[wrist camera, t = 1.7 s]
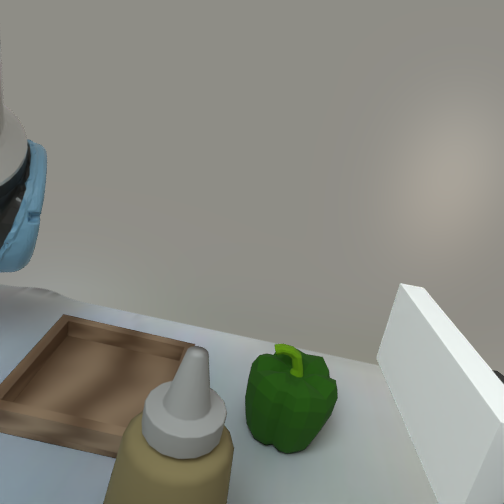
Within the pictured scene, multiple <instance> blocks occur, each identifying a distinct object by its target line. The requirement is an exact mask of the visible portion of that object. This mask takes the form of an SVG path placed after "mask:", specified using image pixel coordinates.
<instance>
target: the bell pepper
mask: <svg viewBox="0 0 504 504" xmlns="http://www.w3.org/2000/svg"><path fill="white" fill-rule="evenodd" d="M275 351H276V352H275V354H274V355H271V354H263V355H259V356H258V358H257V359H256V360H255V361H254V362H253V363H252V366H251V371H250V375H249V379H248V384H247V390H246V396H245V404H246V420H247V425H248V427H249V429H250V431H251V433H252V435H253V437H254V438H255V439H256V440H258V441H260V442H261V443H263V444H265V445H267V444H273V445H274V446H275V447H276V448H277V449H278V450H279V451H282V452H284V453H292V452H298V451H301V450H304V449H305V448H306V447H307V446H308V445H309V444H310V443H311V441H312V440H313V439H314V438H315V436H316V435H317V434H318V432H319V431H320V430H321V428H322V427H323V426H324V424H325V423H326V421H327V420H328V418H329V417H330V415H331V414H332V411H333V408H334V406H335V403H336V401H337V398H338V397H337V385H336V380H334V379H331V378H330V376H329V370H328V367H327V365H326V363H325V361H324V359H323V357H320V356H314V355H308V354H305V353H303V352H301V351H299V350H298V349H296V348H295V347H293V346H289V345H286V344H275Z"/></svg>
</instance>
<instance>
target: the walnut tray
mask: <svg viewBox="0 0 504 504" xmlns="http://www.w3.org/2000/svg"><path fill="white" fill-rule="evenodd" d="M192 346H195V344H192V343H187V342H183V341H179V340H174V339H170V338H165V337H161V336H157V335H152V334H148V333H143V332H139V331H135V330H130V329H126V328H121V327H117V326H113V325H108V324H104V323H99V322H95V321H91V320H86V319H82V318H78V317H73V316H69V315H64V314H63V316H62V317H61V318H60V319H59V320H58V321H57V322H56V323H55V324H54V325H53V327H52V328H51V329H50V330H49V331H48V332H47V333H46V334H45V335H44V337H43V338H42V339H41V340H40V341H39V342H38V343H37V344H36V345H35V347H34V348H33V349H32V350H31V351H30V352H29V353H28V354H27V355H26V356H25V358H24V359H23V360H22V361H21V362H20V363H19V364H18V365H17V366H16V368H15V369H14V370H13V371H12V372H11V373H10V374H9V375H8V376H7V377H6V379H5V380H4V381H3V382H2V383H1V384H0V432H1V433H5V434H10V435H14V436H19V437H23V438H28V439H32V440H37V441H41V442H46V443H50V444H55V445H59V446H64V447H68V448H73V449H77V450H81V451H86V452H90V453H95V454H99V455H104V456H108V457H113V458H116V457H117V453H118V450H119V446H120V443H121V439H122V436H123V433H124V431H125V430H126V428H127V426H128V424H129V423H130V421H131V419H132V418H134V417H135V416H136V415H138V414H139V413H141V412H142V411H143V409H144V403H145V400H146V398H147V397H148V395H149V393H150V391H152V390H153V389H155V388H156V387H157V386H159V385H160V384H162V383H166V382H170V381H173V379H174V377H175V375H176V373H177V371H178V369H179V366H180V364H181V362H182V360H183V358H184V356H185V354H186V352H187V350H188V348H190V347H192Z"/></svg>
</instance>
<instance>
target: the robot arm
mask: <svg viewBox="0 0 504 504" xmlns="http://www.w3.org/2000/svg"><path fill="white" fill-rule="evenodd" d="M1 64H2V62H1V43H0V272H15V271H18V270H20V269H22V268H24V267H25V266H26V265H27V264H28V262H29V261H30V259H31V257H32V255H33V251H34V248H35V244H36V240H37V236H38V231H39V225H40V214H41V210H42V205H43V201H44V193H45V183H46V173H47V154H46V150H45V149H44V147H43V146H42V145H40V144H37V143H34V142H33V141H31V140H28V139H27V137H26V134H25V130H24V127H23V125H22V123H21V122H20V120H19V119H18V117H17V116H16V115H15V114H14V113H13V112H12V111H11V110H10V109H9V108H8V107H7V106H5V105H4V102H3V84H2V65H1ZM376 358H377V361H378V363H379V365H380V368H381V370H382V373H383V375H384V377H385V380H386V382H387V384H388V387H389V389H390V391H391V394H392V396H393V398H394V401H395V403H396V405H397V408H398V410H399V412H400V415H401V417H402V419H403V422H404V424H405V426H406V429H407V431H408V433H409V436H410V438H411V440H412V443H413V445H414V447H415V450H416V452H417V454H418V457H419V459H420V461H421V464H422V466H423V468H424V471H425V473H426V475H427V478H428V480H429V483H430V485H431V487H432V490H433V492H434V494H435V497H436V499H437V501H438V504H504V376H503V375H502V374H501V373H499V372H498V371H493V370H491V368H490V367H489V366H488V365H487V364H486V362H485V361H484V360H483V359H482V358H481V357H480V355H479V354H478V353H477V352H476V351H475V349H474V348H473V347H472V346H471V345H470V343H469V342H468V341H467V340H466V338H465V337H464V336H463V335H462V334H461V332H460V331H459V330H458V329H457V327H455V325H454V324H453V323H452V322H451V320H450V319H449V318H448V317H447V315H446V314H445V313H444V312H443V311H442V309H441V308H440V307H439V306H438V305H437V304H436V302H435V301H434V300H433V299H432V297H431V296H430V295H429V294H428V293H427V291H426V290H425V289H424V288H422V287H417V286H412V285H407V284H401V283H400V285H399V288H398V291H397V295H396V298H395V301H394V304H393V307H392V310H391V313H390V317H389V320H388V323H387V326H386V329H385V332H384V335H383V339H382V342H381V345H380V348H379V351H378V354H377V357H376Z"/></svg>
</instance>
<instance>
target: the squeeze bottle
mask: <svg viewBox="0 0 504 504" xmlns="http://www.w3.org/2000/svg"><path fill="white" fill-rule="evenodd" d="M226 415H227V411H226V407H225V403H224V401H223V400H222V399H221V397H220V396H219V395H218V394H217V393H216V391H214V390H212V389H211V388H210V379H209V354H208V351H207V350H206V349H204V348H203V347H199V346H192V347H190V348H188V350H187V352H186V354H185V356H184V358H183V360H182V362H181V364H180V366H179V369H178V371H177V373H176V375H175V377H174V379H173V381H170V382H166V383H162V384H160V385H159V386H157V387H156V388H155V389H153V390H152V391H150V393H149V395H148V397H147V398H146V400H145V403H144V409H143V411H142V412H141V413H139V414H138V415H136V416H135V417H134V418H132V419H131V421H130V423H129V424H128V426H127V428H126V430H125V431H124V433H123V436H122V439H121V443H120V446H119V450H118V453H117V457H116V461H115V464H114V468H113V471H112V475H111V478H110V482H109V485H108V489H107V492H106V496H105V499H104V503H103V504H226V503H227V496H228V489H229V481H230V474H231V466H232V459H233V452H234V447H233V443H232V439H231V435H230V432H229V431H228V429H227V428H226V427H225V426H224V423H225V419H226Z"/></svg>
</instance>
